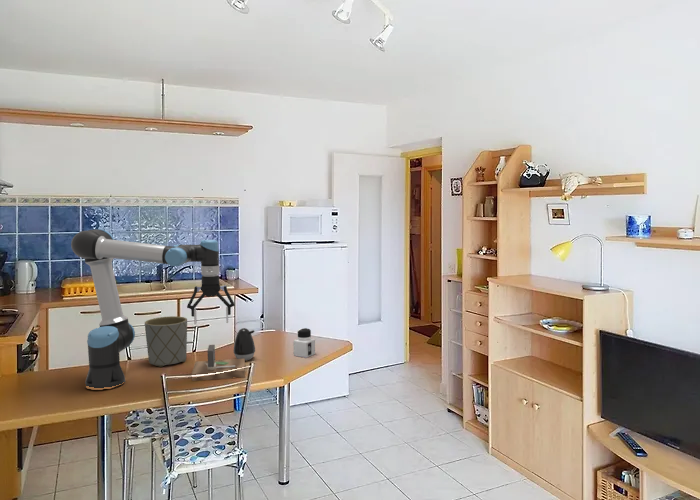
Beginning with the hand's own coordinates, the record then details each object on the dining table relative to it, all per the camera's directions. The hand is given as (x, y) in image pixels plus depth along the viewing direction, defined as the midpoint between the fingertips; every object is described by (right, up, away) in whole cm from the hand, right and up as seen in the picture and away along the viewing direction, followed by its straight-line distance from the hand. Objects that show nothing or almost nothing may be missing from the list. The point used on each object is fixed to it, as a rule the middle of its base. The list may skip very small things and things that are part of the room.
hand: (211, 323), depth 235 cm
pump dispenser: (+10, -21, +22) cm, 32 cm away
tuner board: (+3, -22, +2) cm, 23 cm away
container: (+39, -20, +28) cm, 52 cm away
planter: (-26, -21, +19) cm, 39 cm away
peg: (+5, -20, -2) cm, 20 cm away
